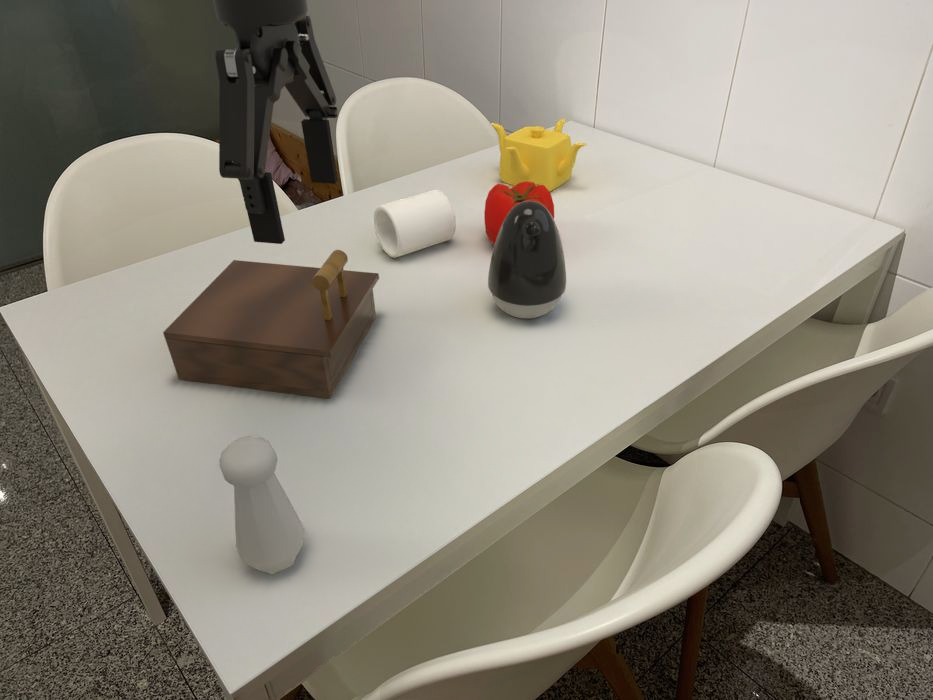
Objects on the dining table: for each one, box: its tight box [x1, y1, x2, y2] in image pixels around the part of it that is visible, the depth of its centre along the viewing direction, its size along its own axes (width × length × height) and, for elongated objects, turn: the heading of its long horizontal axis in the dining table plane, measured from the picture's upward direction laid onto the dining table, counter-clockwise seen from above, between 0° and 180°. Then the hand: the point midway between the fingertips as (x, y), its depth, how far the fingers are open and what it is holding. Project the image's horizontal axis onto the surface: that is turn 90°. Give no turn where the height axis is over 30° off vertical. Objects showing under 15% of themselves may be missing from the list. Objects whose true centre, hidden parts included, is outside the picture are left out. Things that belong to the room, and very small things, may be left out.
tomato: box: [483, 181, 555, 246], centre depth 106 cm, size 11×12×9 cm
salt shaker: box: [219, 435, 306, 576], centre depth 58 cm, size 6×6×13 cm
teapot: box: [490, 118, 588, 193], centre depth 126 cm, size 15×14×10 cm
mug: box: [373, 189, 457, 259], centre depth 107 cm, size 12×10×8 cm
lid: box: [162, 249, 380, 357], centre depth 82 cm, size 20×17×7 cm
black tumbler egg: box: [487, 201, 567, 319], centre depth 89 cm, size 10×10×15 cm
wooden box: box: [164, 288, 377, 400], centre depth 86 cm, size 19×17×6 cm
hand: (299, 209), depth 69 cm, fingers open, 13 cm apart
